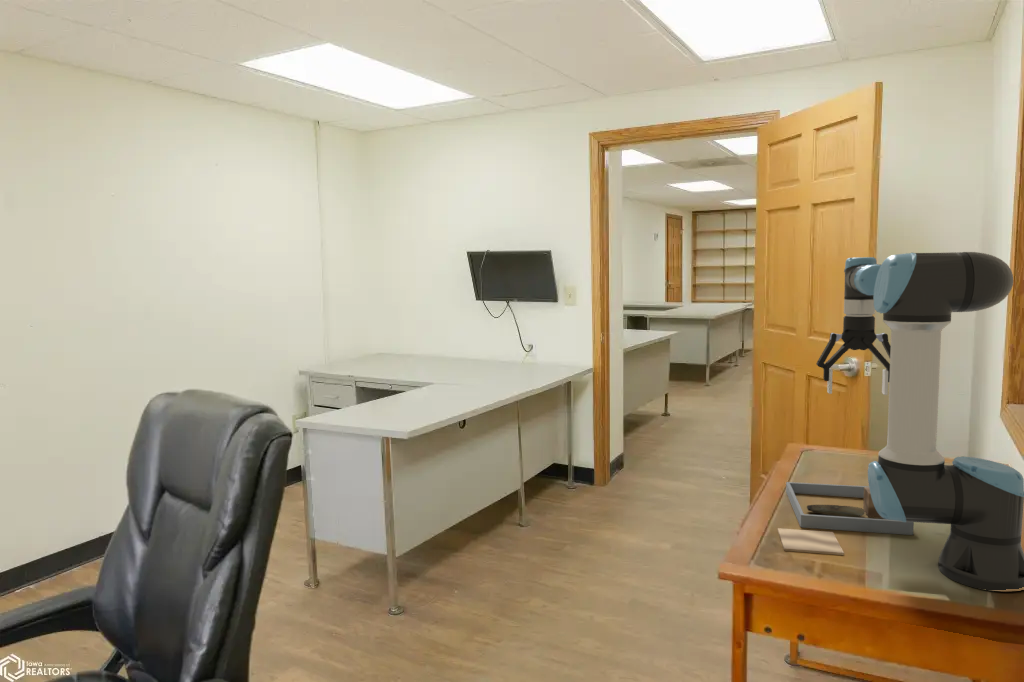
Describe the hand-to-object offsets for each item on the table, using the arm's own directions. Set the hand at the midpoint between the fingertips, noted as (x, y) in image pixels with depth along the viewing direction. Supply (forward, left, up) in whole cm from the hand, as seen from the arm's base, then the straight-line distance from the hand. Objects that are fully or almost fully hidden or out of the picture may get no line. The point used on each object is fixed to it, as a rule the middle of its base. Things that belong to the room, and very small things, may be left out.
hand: (856, 393), depth 185 cm
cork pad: (-40, +18, -27) cm, 51 cm away
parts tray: (-18, +6, -27) cm, 33 cm away
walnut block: (-18, -1, -27) cm, 33 cm away
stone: (-17, +11, -27) cm, 34 cm away
